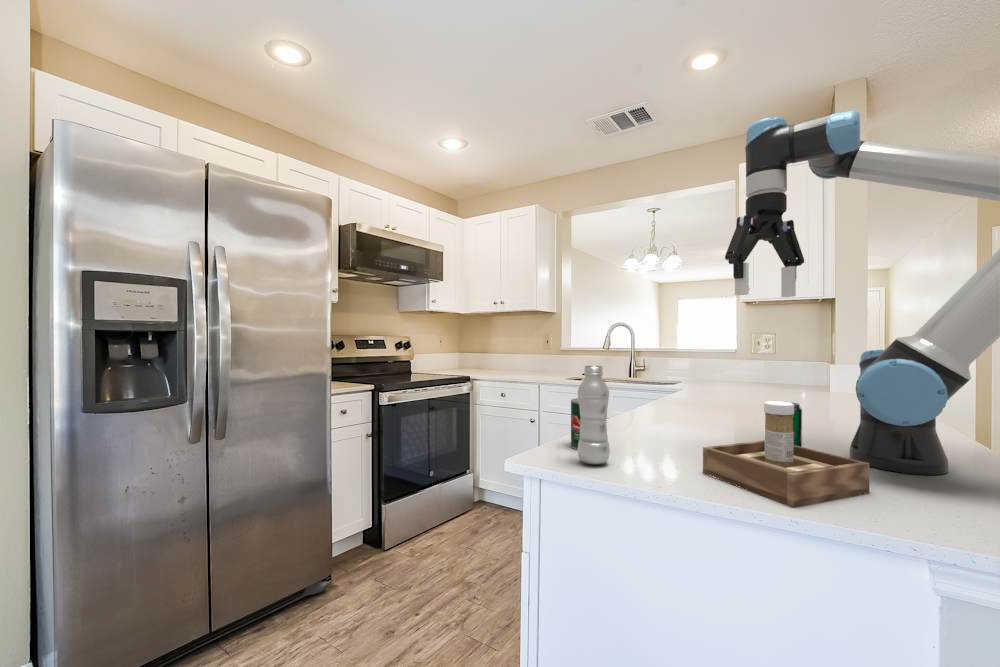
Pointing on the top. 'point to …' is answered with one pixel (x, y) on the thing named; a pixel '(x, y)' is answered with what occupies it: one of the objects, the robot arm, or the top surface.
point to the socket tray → (787, 473)
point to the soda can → (797, 424)
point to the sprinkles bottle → (779, 433)
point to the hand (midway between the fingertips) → (765, 296)
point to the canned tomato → (575, 423)
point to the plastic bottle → (593, 417)
